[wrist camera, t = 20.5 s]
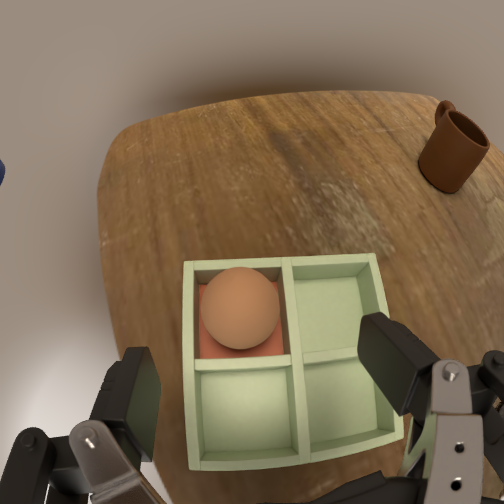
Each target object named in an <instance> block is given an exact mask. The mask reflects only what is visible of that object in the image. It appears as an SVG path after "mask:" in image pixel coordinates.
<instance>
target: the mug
mask: <svg viewBox="0 0 504 504" xmlns="http://www.w3.org/2000/svg"><path fill="white" fill-rule="evenodd" d="M435 124H436V128H435V130H434V131H433V133H432V135H431V137H430V138H429V140H428V142H427V144H426V146H425V147H424V149H423V151H422V153H421V155H420V157H419V166H420V169H421V171H422V172H423V174H424V176H425V177H426V178H427V179H428V180H429V181H430V182H431V183H432V184H433V185H434V186H435V187H437V188H438V189H440V190H442V191H445V192H448V193H453V192H456V191H457V190H458V189H459V188H460V187H461V186H462V185H463V184H464V183H465V181H466V180H467V179H468V178H469V176H470V175H471V174H472V173H473V171H474V170H475V169H476V167H477V166H478V165H479V163H480V162H481V161H482V159H483V158H484V156H485V155H486V153H487V151H488V149H489V147H490V143H489V140H488V139H487V137H486V135H485V134H484V132H483V131H482V130H481V129H480V128H479V127H478V126H477V125H476V124H475V123H474V122H473V121H472V120H471V119H469V118H468V117H467V116H465V115H464V114H462V113H460V112H458V111H456V109H455V107H454V105H453V104H452V103H451V102H449V101H446V100H445V101H441V102H440V103H439V105H438V107H437V109H436V113H435Z"/></svg>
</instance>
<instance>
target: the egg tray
mask: <svg viewBox="0 0 504 504" xmlns="http://www.w3.org/2000/svg"><path fill="white" fill-rule="evenodd" d="M232 267H247V268H251V269H254V270H256V271H258V272H260V273H261V274H263V275H264V276H265V277H266V278H267V279H268V280H269V281H270V282H271V283H272V285H273V286H274V288H275V289H276V292H277V295H278V298H279V303H280V311H279V318H278V322H277V325H276V327H275V329H274V330H273V332H272V333H271V335H270V336H269V337H268V338H267V339H266V340H265V341H264V342H262V343H260V344H258V345H257V346H255V347H251V348H247V349H233V348H229V347H227V346H224V345H222V344H220V343H219V342H218V341H216V340H215V339H214V338H213V337H212V336H211V335H210V334H209V332H208V331H207V330H206V328H205V325H204V323H203V320H202V316H201V301H202V296H203V292H204V290H205V288H206V286H207V285H208V283H209V282H210V281H211V280H212V279H213V278H214V277H215V276H216V275H217V274H219V273H220V272H222V271H224V270H226V269H229V268H232ZM376 312H383V313H384V314H385V315H386V316H387V317H388V318H389V319H390V317H389V312H388V307H387V302H386V297H385V293H384V288H383V284H382V280H381V275H380V271H379V267H378V263H377V260H376V256H375V253H367V254H346V255H324V256H301V257H281V258H280V257H276V258H252V259H227V260H201V261H184V272H183V313H182V348H183V388H184V410H185V426H186V440H187V452H188V462H189V470H206V471H228V470H252V469H265V468H275V467H284V466H292V465H299V464H306V463H311V462H317V461H323V460H328V459H332V458H337V457H341V456H346V455H350V454H354V453H357V452H361V451H365V450H368V449H372V448H375V447H378V446H382V445H385V444H388V443H391V442H394V441H396V440H399V439H402V438H404V430H403V416H401V417H399V416H398V415H397V413H396V412H395V410H394V409H393V407H392V406H391V405H390V403H389V402H388V400H387V399H386V397H385V396H384V395H383V393H382V392H381V390H380V389H379V387H378V386H377V385H376V383H375V382H374V380H373V379H372V378H371V376H370V375H369V373H368V372H367V371H366V369H365V368H364V366H363V365H362V364H361V362H360V360H359V358H358V354H357V345H358V338H359V330H360V322H361V318H362V316H363V315H367V314H372V313H376Z"/></svg>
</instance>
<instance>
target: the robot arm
mask: <svg viewBox="0 0 504 504" xmlns="http://www.w3.org/2000/svg"><path fill="white" fill-rule="evenodd" d="M357 354H358V358H359V360H360V362H361V364H362V365H363V366H364V368H365V369H366V371H367V372H368V373H369V375H370V376H371V378H372V379H373V380H374V382H375V383H376V385H377V386H378V387H379V389H380V390H381V392H382V393H383V395H384V396H385V397H386V399H387V400H388V402H389V403H390V405H391V406H392V407H393V409H394V410H395V412H396V413H397V415H398V416H399V417H401V416H403V415H405V414H407V413H411V414H412V418H411V421H410V427H409V433H408V438H407V444H406V449H405V453H404V458H403V462H402V464H401V467H400V469H399V471H398V473H397V476H392V477H384V476H383V474H382V472H381V470H379V471H377V472H374V473H372V474H369V475H367V476H364V477H361V478H359V479H356V480H353V481H350V482H347V483H345V484H343V485H342V486H340V487H338V488H336V489H334V490H333V491H331V492H329V493H327V494H325V495H323V496H321V497H319V498H317V499H315V500H313V501H311V502H306V503H267V502H265V503H258V504H504V485H503V490H502V491H501V492H500V495H499V498H500V500H498V499H493V498H487V497H482V496H481V493H482V482H483V457H484V455H485V456H486V458H487V459H488V461H489V462H490V464H491V465H492V467H493V468H494V470H495V471H496V473H497V474H498V476H499V477H500V479H501V481H502V482H503V484H504V419H503V418H502V416H501V415H500V414H499V413H498V412H497V410H496V409H495V408H494V407H493V406H492V405H493V404H494V402H495V400H496V399H497V397H498V398H499V399H500V400H501V401H502V402H503V403H504V353H503V352H501V351H497V350H493V351H489V352H487V353H486V354H485V355H484V357H483V359H482V361H481V364H479V365H474V366H469V367H466V366H465V365H464V364H463V363H461V362H460V361H457V360H455V359H440V358H439V357H438V356H437V355H436V354H434V353H433V352H432V351H431V350H430V349H429V348H428V347H427V346H426V345H425V344H424V343H423V342H422V341H421V340H419V338H418V337H417V336H415V335H414V334H412V332H411V331H410V330H409V329H408V328H407V327H406V326H405V325H402V324H400V323H398V322H396V321H391V320H390V319H389V318H388V317H387V316H386V315H385V314H384V313H383V312H376V313H372V314H367V315H363V316H362V318H361V322H360V330H359V338H358V345H357ZM160 396H161V383H160V379H159V376H158V373H157V370H156V367H155V364H154V362H153V359H152V356H151V353H150V350H149V348H148V347H128V348H127V349H126V351H125V354H124V357H123V359H122V361H116V362H115V363H114V364H113V365H112V366H111V367H110V368H109V369H108V371H107V373H106V376H105V378H104V382H103V383H102V385H101V390H100V391H99V393H98V396H97V398H96V401H95V404H94V406H93V410H92V412H91V415H90V418H89V420H86V421H83V422H81V423H79V424H77V425H76V426H75V427H74V428H73V429H72V431H71V433H70V435H69V436H62V437H54V438H49V437H48V436H47V435H46V434H45V433H44V432H43V430H41V429H39V428H36V427H30V428H27V429H25V430H23V431H22V432H21V433H19V434H18V436H17V437H16V439H15V442H14V444H13V447H12V449H11V452H10V455H9V458H8V460H7V463H6V466H5V469H4V472H3V475H2V478H1V481H0V504H44V501H45V496H46V491H47V487H48V484H49V485H50V486H49V490H48V495H47V500H46V504H88V496H89V493H93V495H91V496H90V500H91V502H92V504H167V503H166V502H165V501H164V500H163V499H162V498H161V496H160V495H159V494H158V493H157V492H156V490H155V489H154V488H153V487H152V486H151V484H150V483H149V482H148V481H147V479H146V478H145V477H144V475H143V474H142V473H141V471H140V466H141V462H152V457H153V448H154V439H155V431H156V424H157V416H158V409H159V403H160Z"/></svg>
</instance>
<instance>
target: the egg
mask: <svg viewBox="0 0 504 504" xmlns="http://www.w3.org/2000/svg"><path fill="white" fill-rule="evenodd" d="M279 311H280V303H279V298H278V295H277V292H276V289H275V288H274V286H273V285H272V283H271V282H270V281H269V280H268V279H267V278H266V277H265V276H264V275H263V274H261V273H260V272H258V271H256V270H254V269H251V268H247V267H232V268H229V269H226V270H224V271H222V272H220V273H219V274H217V275H216V276H215V277H214V278H213V279H212V280H211V281H210V282H209V283H208V285H207V286H206V288H205V290H204V292H203V296H202V301H201V316H202V320H203V323H204V325H205V328H206V330H207V331H208V332H209V334H210V335H211V336H212V337H213V338H214V339H215V340H216V341H218V342H219V343H220V344H222V345H224V346H227V347H229V348H233V349H247V348H251V347H255V346H257V345H258V344H260V343H262V342H264V341H265V340H266V339H267V338H268V337H269V336H270V335H271V333H272V332H273V330H274V329H275V327H276V325H277V322H278V318H279Z"/></svg>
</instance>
